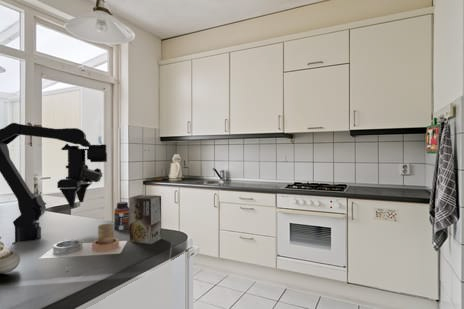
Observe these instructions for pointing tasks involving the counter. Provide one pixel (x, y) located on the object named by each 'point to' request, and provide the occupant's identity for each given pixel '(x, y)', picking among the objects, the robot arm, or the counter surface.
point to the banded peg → (105, 234)
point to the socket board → (85, 251)
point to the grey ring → (67, 247)
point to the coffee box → (145, 218)
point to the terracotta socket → (105, 246)
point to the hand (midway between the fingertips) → (77, 204)
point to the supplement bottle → (121, 217)
